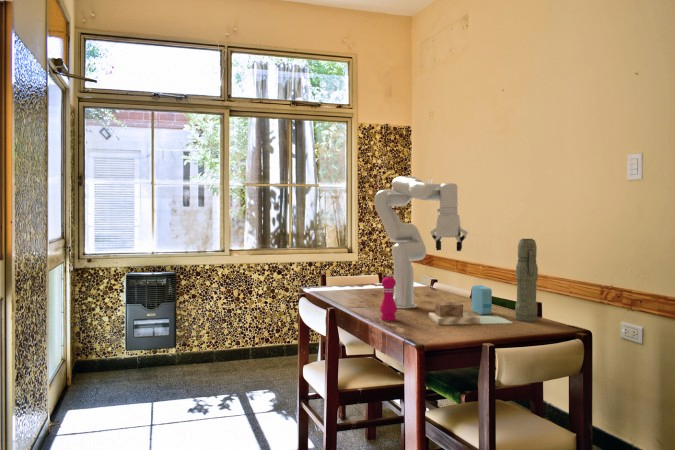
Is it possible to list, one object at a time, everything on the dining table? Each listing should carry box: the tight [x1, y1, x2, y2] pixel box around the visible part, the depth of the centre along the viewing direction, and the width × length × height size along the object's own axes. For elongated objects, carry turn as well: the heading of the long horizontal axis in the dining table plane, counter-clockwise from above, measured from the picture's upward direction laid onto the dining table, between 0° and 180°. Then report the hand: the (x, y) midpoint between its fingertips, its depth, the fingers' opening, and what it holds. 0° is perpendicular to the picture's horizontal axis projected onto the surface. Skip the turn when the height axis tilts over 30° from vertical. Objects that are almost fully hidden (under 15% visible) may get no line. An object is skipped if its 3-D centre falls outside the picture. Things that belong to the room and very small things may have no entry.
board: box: [428, 311, 481, 326], centre depth 232 cm, size 18×13×2 cm
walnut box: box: [434, 301, 464, 317], centre depth 232 cm, size 10×6×5 cm, turn 97°
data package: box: [471, 285, 493, 316], centre depth 251 cm, size 12×4×12 cm, turn 10°
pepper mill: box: [379, 272, 398, 322], centre depth 235 cm, size 7×7×20 cm
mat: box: [476, 315, 514, 325], centre depth 234 cm, size 14×15×1 cm
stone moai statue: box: [514, 238, 539, 323], centre depth 235 cm, size 9×12×35 cm
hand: (448, 250), depth 239 cm, fingers open, 9 cm apart
